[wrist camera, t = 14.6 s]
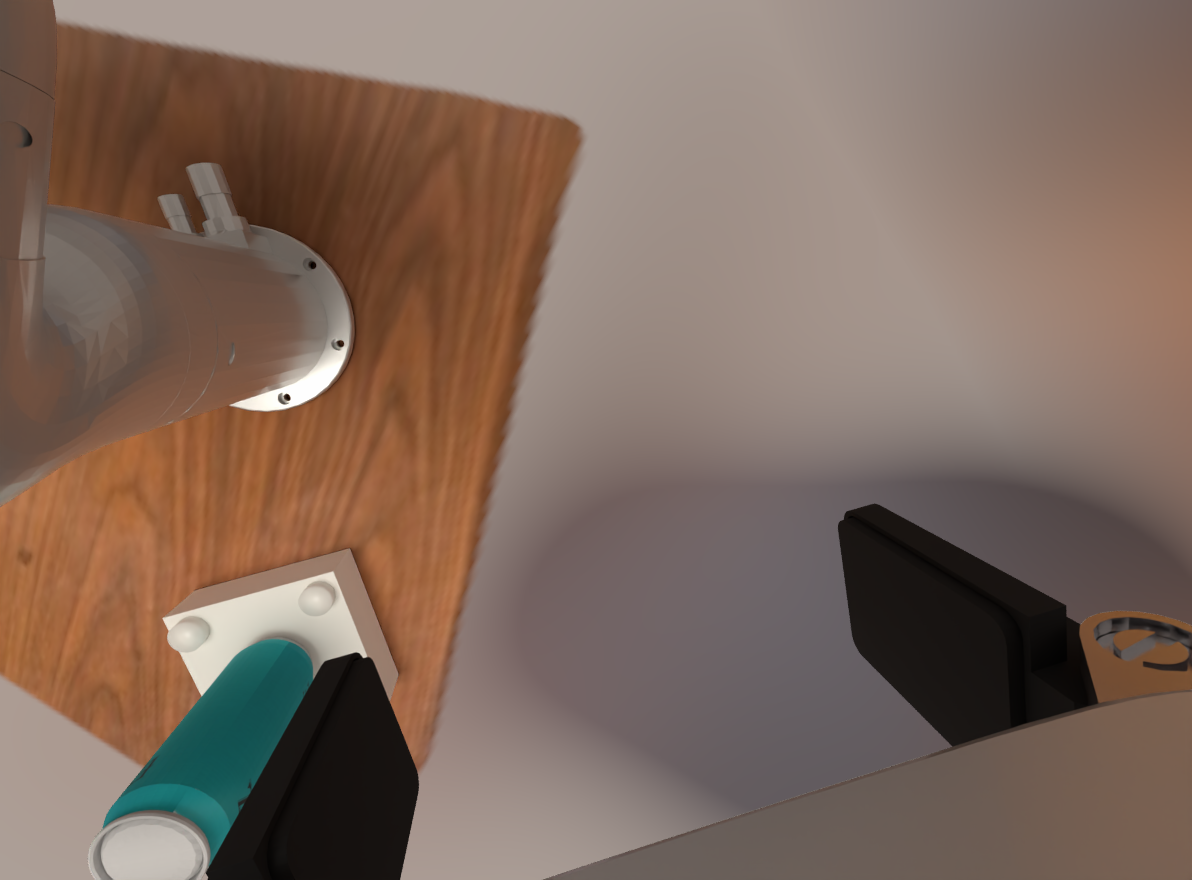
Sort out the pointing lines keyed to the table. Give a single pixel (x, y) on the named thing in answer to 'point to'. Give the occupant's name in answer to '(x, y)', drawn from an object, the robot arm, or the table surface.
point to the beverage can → (204, 769)
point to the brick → (281, 618)
